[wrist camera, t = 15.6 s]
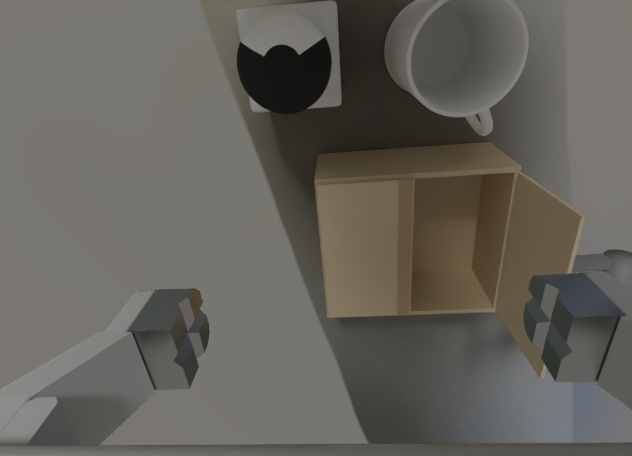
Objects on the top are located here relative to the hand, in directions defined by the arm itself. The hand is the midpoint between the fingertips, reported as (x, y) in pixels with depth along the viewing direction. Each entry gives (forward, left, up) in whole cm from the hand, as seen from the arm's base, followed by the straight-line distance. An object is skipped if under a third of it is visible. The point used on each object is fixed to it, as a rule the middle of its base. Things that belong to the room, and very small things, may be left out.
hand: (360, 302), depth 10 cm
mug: (-2, +9, -33) cm, 35 cm away
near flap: (+14, +15, -20) cm, 29 cm away
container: (-4, -4, -33) cm, 34 cm away
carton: (+14, +6, -33) cm, 36 cm away
